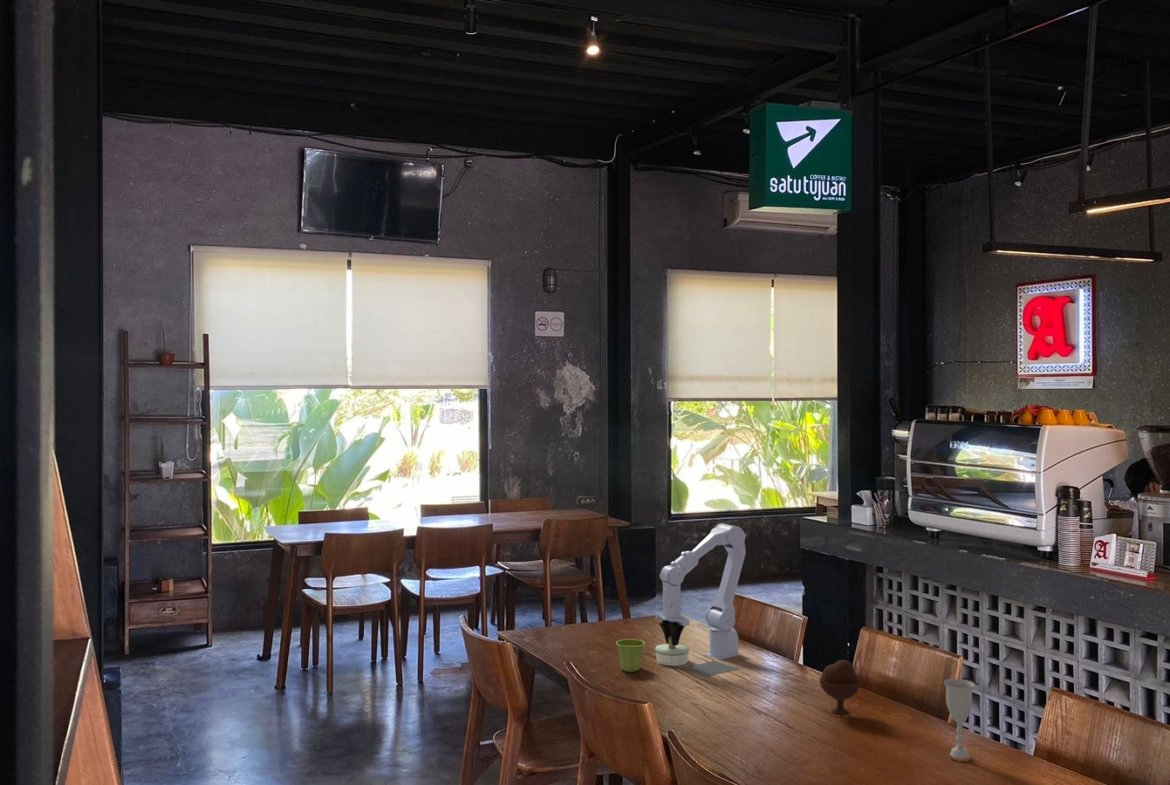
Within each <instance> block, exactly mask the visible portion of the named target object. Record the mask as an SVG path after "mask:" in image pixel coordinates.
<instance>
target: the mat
mask: <svg viewBox="0 0 1170 785" xmlns="http://www.w3.org/2000/svg"><path fill="white" fill-rule="evenodd" d="M682 670H686V671H689V672H692V673H695V674H699V675H702V676H705V677H711V676H717V675H721V674H724V673H729V672H732V671H737V670H740V667H739V668H738V667H735V666H733V665H729V664H726V663H723V662H719V661H715V660H711V661H707V662H703V663H698V664H695V665H689V666H685V667H682Z"/></svg>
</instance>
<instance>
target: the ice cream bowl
mask: <svg viewBox="0 0 1170 785" xmlns="http://www.w3.org/2000/svg"><path fill="white" fill-rule="evenodd" d="M822 671H823V672H822V674H821V676H820V677H819V683H820V686H821V690H823V691H824V692H825V694H827V695H828V696H829V697H831V698H833V699H835V700H836V707H835V708H833V709H831V710H830V713H832V714H835V715H840V716H842V715H843V716H846V715H849V714H850V715H851V712H850V711H849V710H847V709H846V708H844V702H845V700H848V699H850V698H852V697H853V696H855V695H856V694H857V693H858V691H859V688H860V684H861V679H860V678H859V676H858V674H857V673H856V672H855V669H854V666H853V664H852V663H851V662H850V661H849V660H846V659H839V660H837V661H836V662H835V663H832V664H828V665H827V666H826V667H824V669H823V670H822Z"/></svg>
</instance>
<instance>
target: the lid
mask: <svg viewBox="0 0 1170 785" xmlns="http://www.w3.org/2000/svg"><path fill="white" fill-rule="evenodd" d="M656 652H658V653H661V654H668V655H679V654H685V653H688V654H689V652H690V647H689V646H687V645H684V644H678V645H675V646H673V645H672V640H671V637H668V644H667V643H664V644H659V645H656V646H655V653H656Z"/></svg>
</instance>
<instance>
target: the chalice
mask: <svg viewBox="0 0 1170 785" xmlns="http://www.w3.org/2000/svg"><path fill="white" fill-rule="evenodd" d="M943 684H944V686H945V699H946V700H945V702H946V706H947V709H948V712H949V713H950V716H951V718H952V720H953V721H954V722H956V725H957V726H956V730H955V731H956V733H957V735H956V736H955V738H956V740H957V744H956V745H955V746H953V747H952V748H951V751H950V753H949V755H951V756H952V757H954V758H959V759H965V758H969V757H970V754H969V750H967V748H965V747H964V746H963V745H962V744H963V743H962V742H963V740H964V737H963V736H962V732H964V730H963V728H962V723H966V721H967V719H968V718H969V715H970V713H971V710H972V707H973V689H974V687H975V683H974V682H972V681H970V680H965V679H962V678H961V679H960V678H947V679H945V680H944V681H943Z"/></svg>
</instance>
